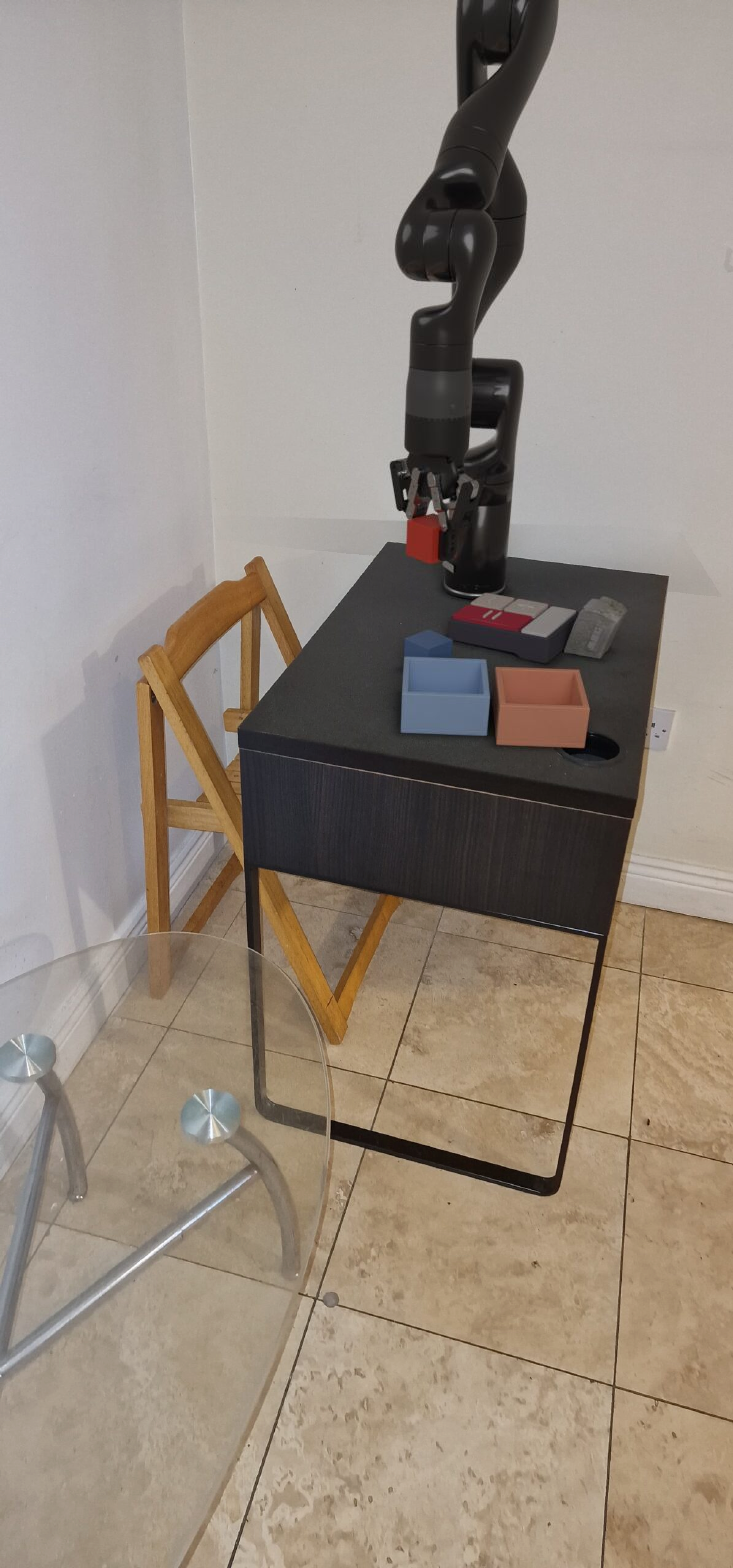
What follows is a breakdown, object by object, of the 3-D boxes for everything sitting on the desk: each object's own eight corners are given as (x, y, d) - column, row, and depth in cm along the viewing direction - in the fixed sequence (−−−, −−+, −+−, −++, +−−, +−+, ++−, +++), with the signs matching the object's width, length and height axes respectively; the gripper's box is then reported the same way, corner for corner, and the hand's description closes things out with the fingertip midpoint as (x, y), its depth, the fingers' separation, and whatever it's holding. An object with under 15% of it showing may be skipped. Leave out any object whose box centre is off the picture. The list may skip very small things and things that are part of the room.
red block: (405, 555, 125) (406, 519, 123) (431, 547, 128) (433, 513, 125) (430, 564, 122) (432, 528, 120) (456, 556, 125) (458, 521, 123)
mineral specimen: (556, 658, 135) (565, 597, 132) (573, 647, 142) (581, 589, 139) (612, 667, 132) (622, 605, 129) (625, 655, 139) (635, 596, 137)
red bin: (492, 704, 125) (495, 666, 122) (574, 707, 125) (579, 669, 122) (496, 745, 117) (499, 705, 114) (584, 748, 116) (590, 708, 113)
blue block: (403, 669, 133) (404, 638, 131) (427, 659, 136) (428, 629, 133) (427, 680, 130) (428, 649, 128) (451, 670, 133) (453, 639, 130)
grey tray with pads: (483, 589, 147) (581, 606, 140) (483, 617, 149) (579, 636, 142) (446, 614, 139) (548, 634, 132) (446, 643, 141) (546, 664, 134)
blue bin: (402, 693, 127) (404, 656, 124) (483, 696, 127) (486, 659, 124) (400, 733, 119) (401, 693, 116) (486, 736, 118) (490, 696, 116)
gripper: (507, 415, 114) (495, 563, 123) (419, 394, 123) (414, 533, 132) (459, 424, 109) (450, 576, 118) (372, 402, 119) (370, 545, 128)
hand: (431, 553), depth 125 cm, fingers closed on red block, 4 cm apart
